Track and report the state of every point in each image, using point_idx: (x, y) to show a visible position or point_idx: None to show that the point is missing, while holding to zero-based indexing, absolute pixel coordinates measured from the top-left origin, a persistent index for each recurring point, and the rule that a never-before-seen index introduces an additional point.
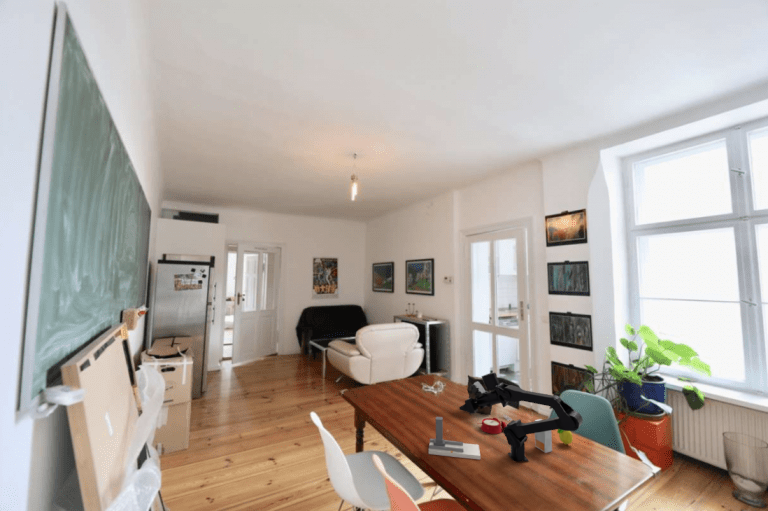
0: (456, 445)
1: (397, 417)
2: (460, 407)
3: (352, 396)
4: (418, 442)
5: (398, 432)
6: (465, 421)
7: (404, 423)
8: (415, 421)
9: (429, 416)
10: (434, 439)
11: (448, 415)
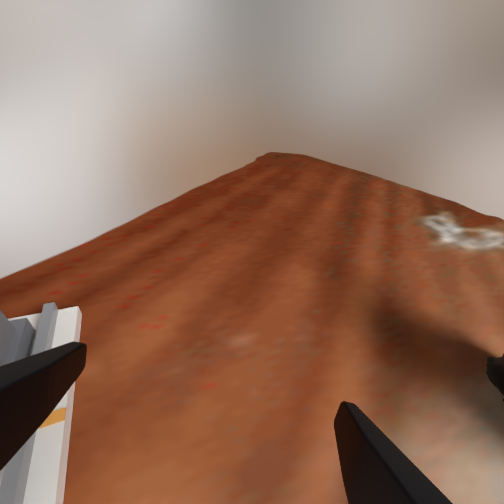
0: (3, 470)
1: (238, 207)
2: (41, 361)
3: (273, 154)
4: (80, 279)
5: (145, 223)
6: (383, 382)
7: (212, 223)
8: (243, 239)
9: (303, 260)
10: (10, 322)
11: (363, 304)
